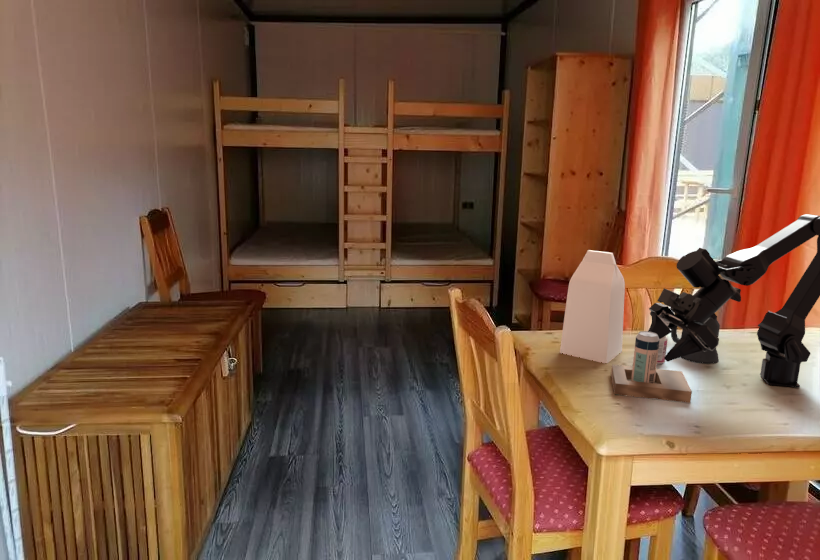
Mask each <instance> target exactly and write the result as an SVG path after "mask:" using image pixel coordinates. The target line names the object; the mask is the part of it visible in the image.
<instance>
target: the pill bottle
mask: <svg viewBox="0 0 820 560" xmlns="http://www.w3.org/2000/svg"><path fill="white" fill-rule="evenodd" d="M667 347H668V336H667V335H666V336H664V337H663V338H661V339H660V341H659V349H658V358H657V365H662V364H665V362H666V360H665V359H664V357H665V356H666V355H667Z"/></svg>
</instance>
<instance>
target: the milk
mask: <svg viewBox="0 0 820 560" xmlns="http://www.w3.org/2000/svg"><path fill="white" fill-rule="evenodd" d="M616 262H617V261H616V258H615V256H614V252H609V251H599V250H591V249H588V250H587V251H586V253H585V255H584V256H583V258H582V261H580V263H579V265H578V266H577V268H576V269H575V271H574V272H573V274H572V276H571V278H570V280H569V283H568V287H567V288H568V289H567V293H566V294H567V295H566V303H565V310H564V318H563V325H562V332H561V340H560V341H561V342H560V348H559V354H562V353H563V355H566V354H567V356H571V355H572V357H575V358H579V357H580V359H584V360H589V361H592V360H593V362H598V363H601V362H602V363H601V364H605V363H607V364H608V363H610V362H611V361H612V360H613V359H614V358H616V357H617V356H619V353H620V354H621V353H623V338H624V337H623V335H624V313H625V310H624V309H625V291H626V289H625V288H626V283H625V279H624V275H623V274H622V272H621V271H620V268H619V266H618V265H617V263H616Z"/></svg>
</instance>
